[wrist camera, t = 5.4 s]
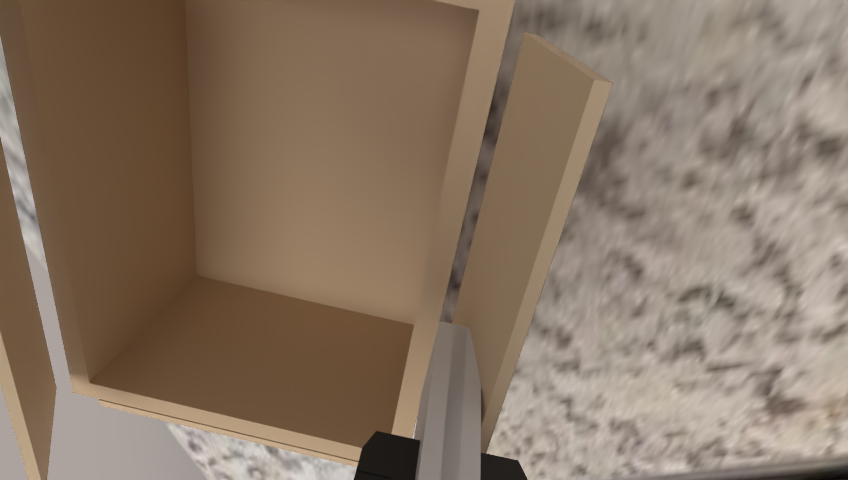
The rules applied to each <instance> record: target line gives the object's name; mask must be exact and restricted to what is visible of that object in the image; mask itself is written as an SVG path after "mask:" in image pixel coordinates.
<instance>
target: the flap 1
mask: <svg viewBox="0 0 848 480" xmlns="http://www.w3.org/2000/svg"><path fill="white" fill-rule="evenodd" d="M0 384H1V388H2V391H3V394H4V398H5V401H6V405H7V408H8V411H9V415H10V419H11V422H12V425H13V429H14V432H15V435H16V439H17V442H18V446H19V449H20V453H21V456H22V459H23V463H24V466H25V470H26V473H27V477H28V480H47V474H48V465H49V455H50V444H51V435H52V425H53V416H54V406H55V396H56V384H55V379H54V375H53V370H52V366H51V362H50V357H49V352H48V348H47V344H46V339H45V335H44V330H43V326H42V321H41V317H40V312H39V308H38V303H37V300H36V295H35V290H34V286H33V281H32V277H31V272H30V268H29V263H28V259H27V255H26V250H25V245H24V241H23V236H22V232H21V228H20V223H19V219H18V214H17V210H16V205H15V201H14V196H13V192H12V187H11V183H10V178H9V174H8V170H7V165H6V161H5V156H4V152H3V147H2V143H1V138H0Z"/></svg>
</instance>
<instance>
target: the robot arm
mask: <svg viewBox="0 0 848 480" xmlns="http://www.w3.org/2000/svg"><path fill="white" fill-rule="evenodd" d="M354 480H527V477H526V475H525V473H524V471H523V469H522V467H521V465H520V463H519V461H518V460H513V459H508V458H504V457H499V456H494V455H490V454H485V453H481V381H480V376H479V371H478V366H477V361H476V356H475V351H474V346H473V341H472V336H471V331H470V328H468V327H465V326H460V325H456V324H451V323H447V322H442V321H439V324H438V328H437V332H436V337H435V341H434V345H433V349H432V353H431V357H430V361H429V365H428V369H427V373H426V377H425V381H424V385H423V389H422V393H421V398H420V404H419V411H418V417H417V424H416V430H415V437H414V439H412V438H407V437H403V436H398V435H393V434H389V433H384V432H380V431H376V432H375V433H374V434H373V435H372V437H371V438H370V439H369V440H368V441H367V443H366V444H365V445H364V446H363V447H362V450H361V454H360V458H359V462H358V466H357V470H356V474H355V477H354Z"/></svg>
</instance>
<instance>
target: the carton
mask: <svg viewBox="0 0 848 480" xmlns="http://www.w3.org/2000/svg"><path fill="white" fill-rule="evenodd" d="M514 4H515V0H0V36H1V41H2V46H3V51H4V56H5V61H6V66H7V71H8V76H9V80H10V85H11V90H12V95H13V100H14V105H15V110H16V115H17V120H18V124H19V129H20V134H21V139H22V144H23V149H24V154H25V159H26V164H27V169H28V173H29V178H30V183H31V188H32V193H33V198H34V203H35V208H36V213H37V217H38V222H39V227H40V232H41V237H42V242H43V247H44V252H45V257H46V262H47V266H48V271H49V276H50V281H51V286H52V291H53V296H54V301H55V306H56V310H57V315H58V320H59V325H60V330H61V335H62V340H63V344H64V350H65V355H66V359H67V364H68V369H69V374H70V379H71V384H72V388H73V393H77V394H81V395H85V396H89V397H93V398H97V399H99V405H101V406H106V407H109V408H113V409H118V410H122V411H126V412H130V413H134V414H139V415H143V416H147V417H151V418H155V419H159V420H163V421H168V422H172V423H176V424H180V425H184V426H188V427H193V428H197V429H201V430H205V431H209V432H213V433H218V434H222V435H226V436H230V437H234V438H238V439H243V440H247V441H251V442H255V443H259V444H263V445H268V446H272V447H276V448H280V449H284V450H288V451H293V452H297V453H301V454H305V455H309V456H313V457H318V458H322V459H326V460H330V461H334V462H338V463H343V464H347V465H351V466H355V467H357V466H358V462H359V458H360V454H361V450H362V447H363V446H364V445H365V444H366V443H367V441H368V440H369V439H370V438H371V437H372V435H373V434H374V433H375V432H376V431H380V432H384V433H389V434H393V435H398V436H403V437H407V438H412V435H413V431H414V427H415V422H416V418H417V414H418V410H419V404H420V398H421V393H422V389H423V385H424V381H425V377H426V373H427V369H428V365H429V361H430V357H431V353H432V349H433V345H434V341H435V337H436V332H437V328H438V324H439V321H440V317H441V313H442V308H443V304H444V300H445V296H446V291H447V287H448V283H449V279H450V274H451V270H452V266H453V262H454V258H455V253H456V249H457V245H458V241H459V236H460V232H461V228H462V224H463V220H464V215H465V211H466V207H467V203H468V198H469V194H470V190H471V186H472V181H473V177H474V173H475V169H476V165H477V160H478V156H479V152H480V148H481V143H482V139H483V135H484V131H485V126H486V122H487V118H488V114H489V110H490V105H491V101H492V97H493V93H494V88H495V84H496V80H497V76H498V71H499V67H500V63H501V59H502V55H503V50H504V46H505V42H506V38H507V33H508V29H509V25H510V21H511V17H512V12H513V8H514Z"/></svg>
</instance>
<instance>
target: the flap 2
mask: <svg viewBox="0 0 848 480" xmlns="http://www.w3.org/2000/svg"><path fill="white" fill-rule="evenodd" d="M612 85H613V83H612V82H611V81H609V80H607V79H606V78H604V77H603V76H601V75H600V74H598V73H596V72H595V71H593V70H592V69H590V68H589V67H587V66H585V65H584V64H582V63H581V62H579V61H578V60H576V59H575V58H573V57H571V56H570V55H568V54H567V53H565V52H564V51H562V50H560V49H559V48H557V47H556V46H554V45H553V44H551V43H549V42H548V41H546V40H545V39H543V38H542V37H540V36H539V35H537V34H532V33H527V32H524V36H523V40H522V44H521V48H520V52H519V56H518V60H517V64H516V67H515V71H514V75H513V79H512V83H511V87H510V91H509V95H508V99H507V103H506V107H505V111H504V115H503V119H502V123H501V127H500V131H499V135H498V139H497V143H496V147H495V151H494V155H493V159H492V163H491V167H490V171H489V175H488V179H487V183H486V187H485V191H484V195H483V199H482V203H481V207H480V211H479V215H478V219H477V223H476V227H475V231H474V235H473V239H472V243H471V247H470V251H469V255H468V259H467V263H466V267H465V271H464V275H463V279H462V283H461V287H460V291H459V295H458V299H457V303H456V307H455V311H454V315H453V319H452V323H451V324H456V325H460V326H465V327H468V328H470V331H471V336H472V341H473V346H474V351H475V356H476V361H477V366H478V371H479V376H480V381H481V453H485V454H486V452H487V449H488V446H489V443H490V440H491V437H492V435H493V432H494V429H495V426H496V423H497V420H498V417H499V414H500V411H501V408H502V405H503V402H504V400H505V397H506V394H507V391H508V388H509V385H510V382H511V379H512V376H513V373H514V370H515V367H516V365H517V362H518V359H519V356H520V353H521V350H522V347H523V344H524V341H525V338H526V335H527V332H528V330H529V327H530V324H531V321H532V318H533V315H534V312H535V309H536V306H537V303H538V300H539V297H540V295H541V292H542V289H543V286H544V283H545V280H546V277H547V274H548V271H549V268H550V265H551V262H552V260H553V257H554V254H555V251H556V248H557V245H558V242H559V239H560V236H561V233H562V230H563V227H564V225H565V222H566V219H567V216H568V213H569V210H570V207H571V204H572V201H573V198H574V195H575V192H576V190H577V187H578V184H579V181H580V178H581V175H582V172H583V169H584V166H585V163H586V160H587V157H588V155H589V152H590V149H591V146H592V143H593V140H594V137H595V134H596V131H597V128H598V125H599V122H600V120H601V117H602V114H603V111H604V108H605V105H606V102H607V99H608V96H609V93H610V90H611V87H612Z"/></svg>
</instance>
